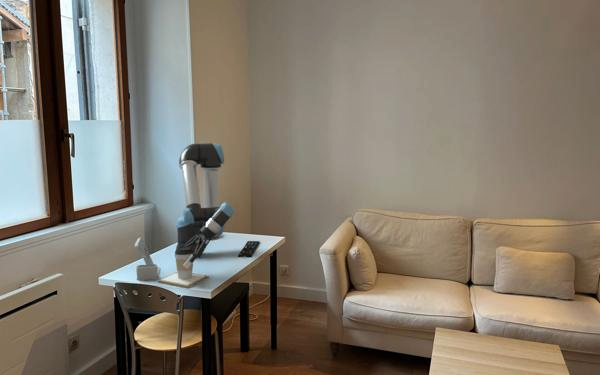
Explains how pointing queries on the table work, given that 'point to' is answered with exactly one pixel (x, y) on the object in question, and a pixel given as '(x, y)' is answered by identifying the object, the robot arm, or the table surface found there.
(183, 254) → the coffee cup
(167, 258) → the table surface
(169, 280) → the notebook
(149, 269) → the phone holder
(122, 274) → the table surface
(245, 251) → the remote control
